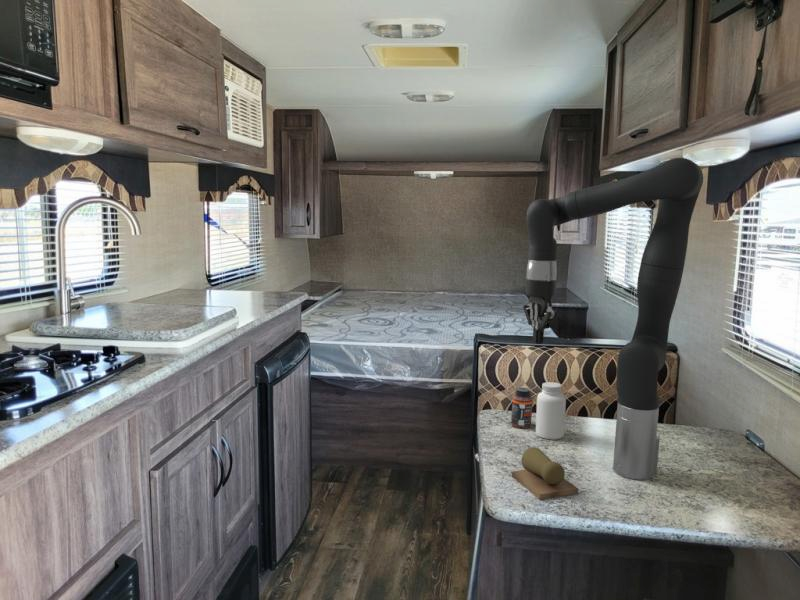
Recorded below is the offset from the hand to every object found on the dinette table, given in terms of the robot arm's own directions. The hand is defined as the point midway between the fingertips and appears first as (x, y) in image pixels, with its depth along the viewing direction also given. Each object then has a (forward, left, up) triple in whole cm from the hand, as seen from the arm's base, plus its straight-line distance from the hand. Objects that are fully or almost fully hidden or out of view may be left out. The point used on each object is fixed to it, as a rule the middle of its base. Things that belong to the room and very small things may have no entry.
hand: (537, 343), depth 150 cm
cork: (+8, +12, -26) cm, 30 cm away
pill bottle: (-10, -7, -29) cm, 32 cm away
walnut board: (+9, +19, -29) cm, 36 cm away
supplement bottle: (-6, -16, -29) cm, 34 cm away
